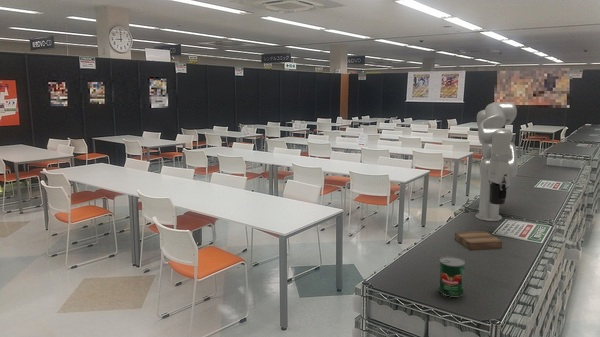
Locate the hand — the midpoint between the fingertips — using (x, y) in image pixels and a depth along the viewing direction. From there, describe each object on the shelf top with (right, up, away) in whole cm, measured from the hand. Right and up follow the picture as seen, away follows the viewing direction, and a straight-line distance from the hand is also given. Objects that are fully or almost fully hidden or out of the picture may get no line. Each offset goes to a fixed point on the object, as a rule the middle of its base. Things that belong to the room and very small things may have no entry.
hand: (497, 195), depth 191 cm
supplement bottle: (0, -3, +1) cm, 4 cm away
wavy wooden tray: (-13, -20, -9) cm, 25 cm away
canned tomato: (-40, -29, -53) cm, 72 cm away
